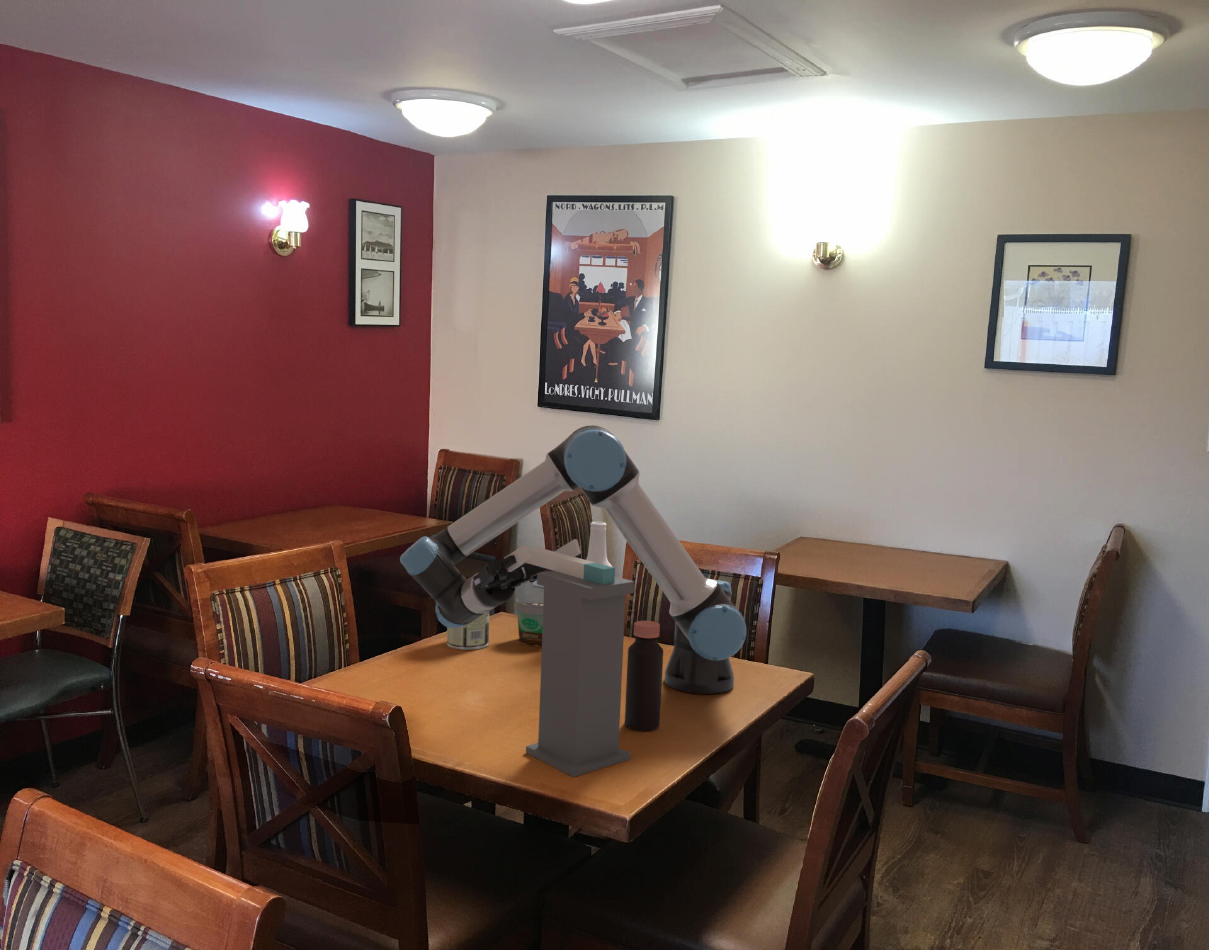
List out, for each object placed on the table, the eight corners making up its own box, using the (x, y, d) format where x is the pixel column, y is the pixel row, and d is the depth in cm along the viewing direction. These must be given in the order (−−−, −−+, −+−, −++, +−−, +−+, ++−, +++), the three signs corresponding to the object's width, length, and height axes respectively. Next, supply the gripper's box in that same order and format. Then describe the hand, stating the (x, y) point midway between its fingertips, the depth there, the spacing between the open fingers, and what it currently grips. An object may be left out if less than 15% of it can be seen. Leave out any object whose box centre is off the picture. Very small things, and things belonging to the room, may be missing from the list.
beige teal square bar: (526, 562, 183) (526, 548, 183) (537, 561, 185) (537, 547, 185) (602, 584, 168) (603, 569, 167) (614, 582, 169) (615, 567, 169)
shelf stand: (524, 751, 177) (530, 573, 174) (580, 735, 186) (587, 566, 182) (575, 778, 167) (583, 589, 164) (632, 760, 176) (640, 580, 172)
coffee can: (464, 636, 250) (466, 580, 248) (497, 643, 244) (499, 586, 243) (436, 644, 241) (438, 587, 239) (470, 652, 236) (471, 594, 234)
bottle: (633, 733, 188) (638, 629, 186) (618, 721, 195) (623, 620, 192) (665, 729, 191) (671, 627, 189) (650, 717, 197) (655, 618, 195)
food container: (507, 644, 244) (508, 604, 243) (514, 638, 250) (515, 598, 249) (557, 649, 242) (558, 608, 241) (562, 642, 248) (564, 602, 247)
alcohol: (571, 638, 252) (576, 519, 249) (605, 636, 254) (610, 519, 251) (580, 647, 244) (585, 525, 240) (615, 646, 246) (620, 525, 243)
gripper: (541, 599, 201) (607, 562, 186) (442, 615, 186) (506, 575, 170) (531, 564, 203) (595, 524, 188) (432, 577, 188) (494, 534, 173)
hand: (553, 549), depth 179 cm, fingers open, 11 cm apart
